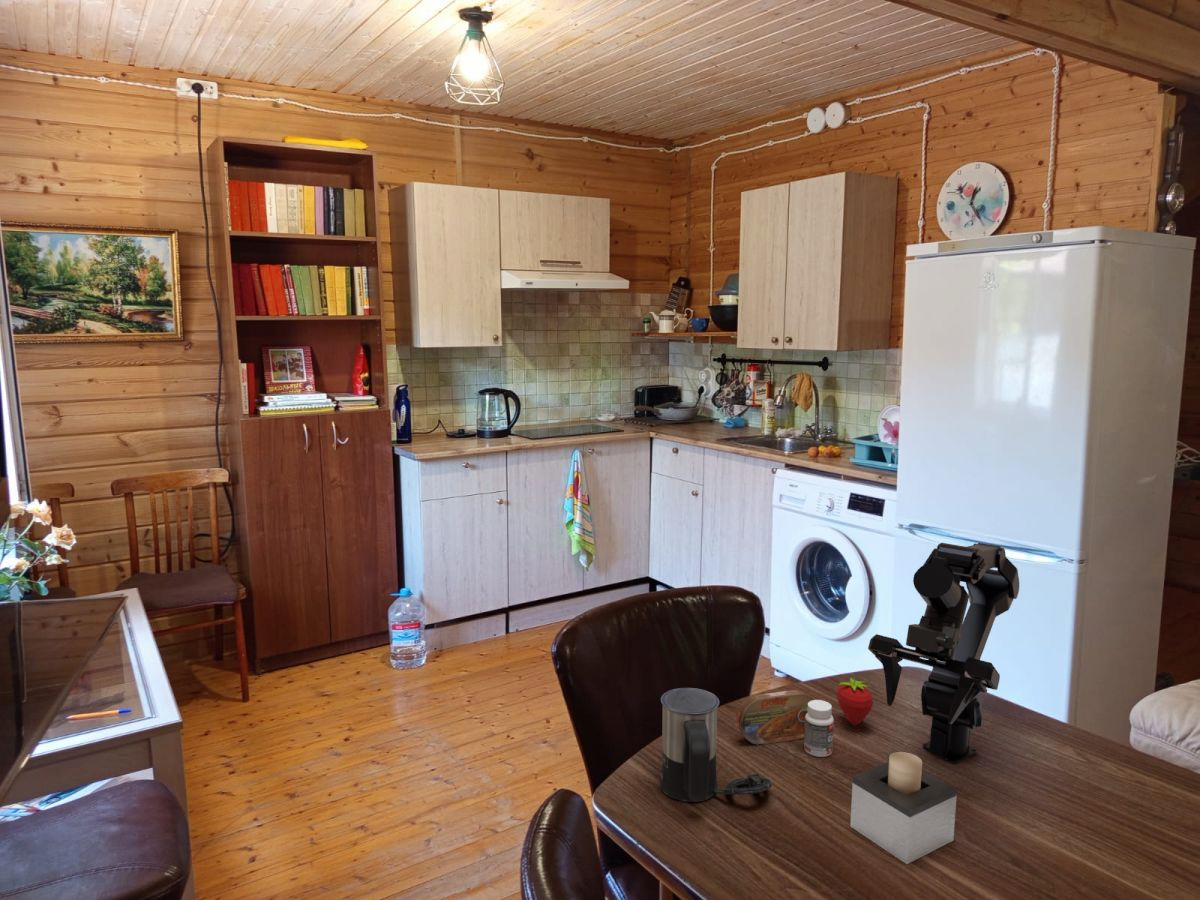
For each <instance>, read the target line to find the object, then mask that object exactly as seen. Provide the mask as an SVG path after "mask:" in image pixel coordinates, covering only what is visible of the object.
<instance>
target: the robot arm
mask: <svg viewBox="0 0 1200 900" xmlns="http://www.w3.org/2000/svg"><path fill="white" fill-rule="evenodd" d="M994 568H995V569H994ZM912 582H913V587H914V588H915V591H917V593H918V594H919V596H920V597H921V599H922V600H923V601H924V602H925V603H926V608H925V612H924V614H923V615H921V618H920V619H919V623H917V624H916V623H915V624H913V623H912V624H909V625H908V628H907V636H906V639H905V640H906V641H905V646H907V647H905V646H903V644H902V643H901V642H900V641H899V640H898V639H896V638H893V637H889V636H885V635H880V634H878V633H877V634H876V633H875V635H873V636H872V637H871V638H870V640H869V643H868V647H867V649H868V651H870V652H871V653H872V655H874V657H875V658H876V659H877V660H878V661H879V662H880V664H881V665H882V668H883V673H884V680H885V691H886V692H885V693H886V705H887V706H888V707H892V706H893V703H894V701H895V698H896V695H897V689H898V686H899V683H900V682H899V681H900V678H901V674H902V670H903V666H901V665H900V664H899V663H900V662H902V661H903V660H905V661H909V662H913V663H917V664H920V665H924V666H928V667H932V669H931V672H930V674H929V676H928V677H927V680H925V681H924V682H923V684H922V687H921V693H920V699H921V701H920V702H921V712H922V715H923V716H929V717H931V727H930V732H929V733H930V734H929V735H930V736H929V740H928V741H927V742H925V743H923V744H922V748H923V749H925V750H926V751H928V752H931V753H932V754H935V755H937V756H938V757H940V758H942V759H943V760H945V761H948V762H950V763H952V764H957V763H960V762H961V761H963V760H965V759H968V758H971V757H972V756H974V755H977V754H978V750H977V749H976V748H973V747H971V746H970V739H971V738H970V736H971V730H974V729H976V728H978V727H979V728H981V727H982V726H983V719H984V718H983V715H984V713H983V711H984V705H983V704H982V701H981V699H980V696H979V694H980V693H984V694H986V693H987V692H988V689H991V690H995V691H997V690H999V689H998V688H999V685H1000V676H1001V674H1000V673H999V671H998V670H997V669H996V668H995V666H994V664H993V663H992V662H990V661H986V660H981V658H982V656H983V652H984V650H985V647H986V644H987V642H988V639H989V636H990V633H991V630H992V628H993V625H994V622H995V619H996V618H997V617H998V616H1000V615H1002V614H1003V613H1005V612H1008V611H1009V610H1010V608H1011V606H1012V604H1013V602H1014V600H1016V599H1018V596H1019V592H1020V578H1019V570H1018V567H1016V566H1015V565H1014V563H1013V562H1011V560H1009V558H1008V557H1007V555H1006V549H1005V548H1004V547H1001V545H996V544H990V543H982V542H978V543H973V544H971V545H968V546H964V545H960V544H952V543H945V542H940V543H939V544H937V546H936V548H933V550H931V552H930V554H929V556H928V557H927V559H926V560H925V561H924V563H923V565H921V566H920V567H919V568H918V569H917V570H916V571H915V573H914V575H913V580H912ZM961 582H963V583H965V585H966V589H965V586H963V585H961ZM968 602H969V603H968ZM968 604H970V605H969V606H968ZM967 608H968V609H967ZM966 611H967V612H966ZM909 647H911V648H909ZM913 648H914V649H913Z"/></svg>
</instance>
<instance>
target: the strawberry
mask: <svg viewBox="0 0 1200 900" xmlns="http://www.w3.org/2000/svg"><path fill="white" fill-rule="evenodd" d="M850 675H851V677H849V681H848V682H845V681H841V682H839V683H838V685H839V686H838V688H837V691H836V698H837V702H838V706H839V708H840V709H841V711H842V712H843V715H844V716H845V717H846V719H847V720H848V721H849V723H850V724H851V725H852V726H854V727H855V726H858V725H859V724H860V723H861V722H862V721H863V720H865V719H866V717H867V716H868V714H869V713H870V712H871V711H872V707H873V705H874V700H873V695H872V693H871V692H870V691H869V689H868V688H869V687H870V686H869V685H866V684H864V683H867V681H866V680H865V681H863V680H862V681H860V680H859V681H858V680H856V678H855V676H854V675H853V674H852V673H850ZM852 677H853V678H852Z"/></svg>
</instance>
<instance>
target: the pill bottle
mask: <svg viewBox="0 0 1200 900" xmlns="http://www.w3.org/2000/svg"><path fill="white" fill-rule="evenodd" d="M807 711H808V713H807V714H806V716H805V738H804V751H805V752H806V753H807V754H808V755H810V756H813V757H816V758H817V757H818V758H825V757H829V756H830V755H832V753H833V747H834V725H835V724H834V723H835V722H834V721H835V720H834V717H833V715H832V714H833V706H832V704H831V703H830V702H828V701H825V700H822V699H814V700H812V701H810V702H809V703H808V708H807Z"/></svg>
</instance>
